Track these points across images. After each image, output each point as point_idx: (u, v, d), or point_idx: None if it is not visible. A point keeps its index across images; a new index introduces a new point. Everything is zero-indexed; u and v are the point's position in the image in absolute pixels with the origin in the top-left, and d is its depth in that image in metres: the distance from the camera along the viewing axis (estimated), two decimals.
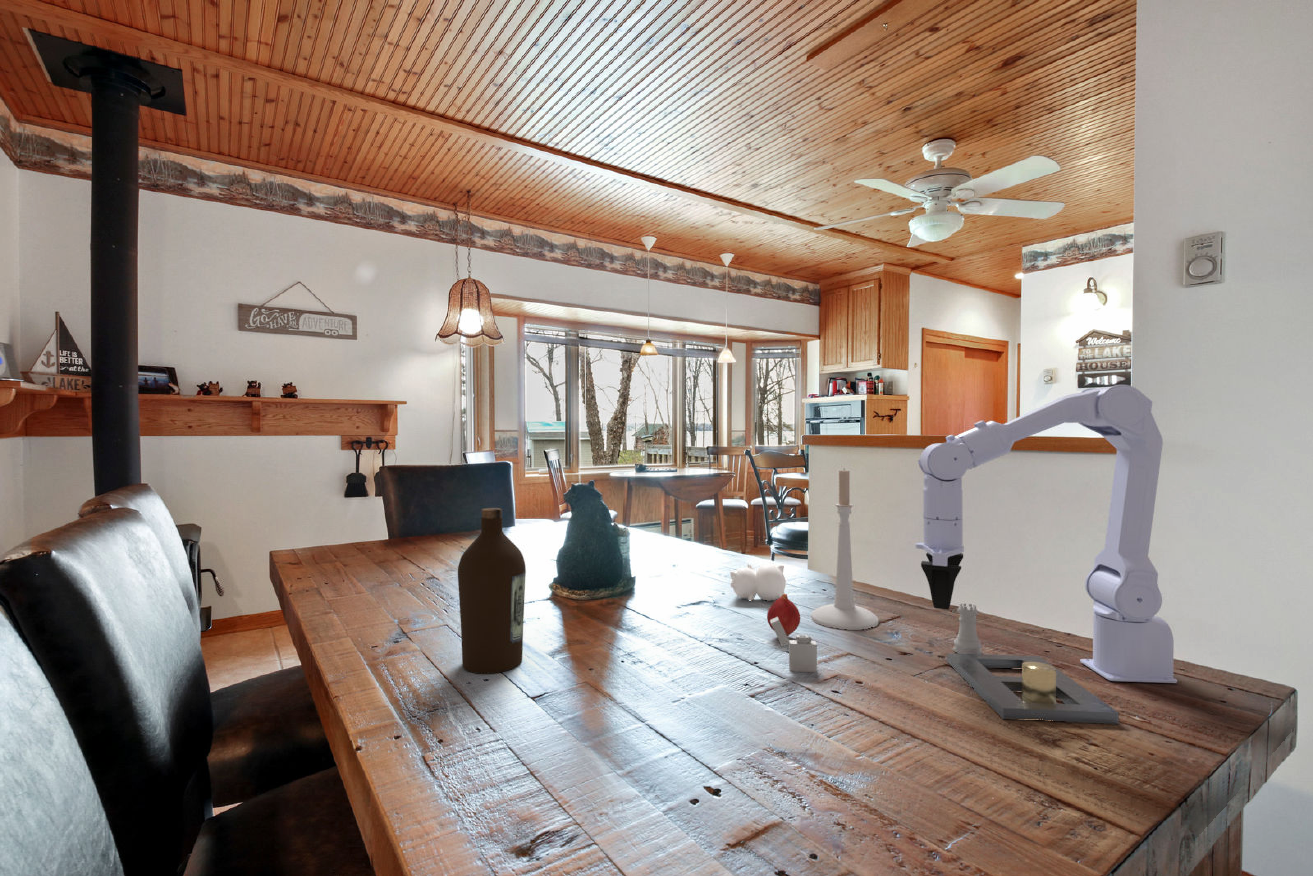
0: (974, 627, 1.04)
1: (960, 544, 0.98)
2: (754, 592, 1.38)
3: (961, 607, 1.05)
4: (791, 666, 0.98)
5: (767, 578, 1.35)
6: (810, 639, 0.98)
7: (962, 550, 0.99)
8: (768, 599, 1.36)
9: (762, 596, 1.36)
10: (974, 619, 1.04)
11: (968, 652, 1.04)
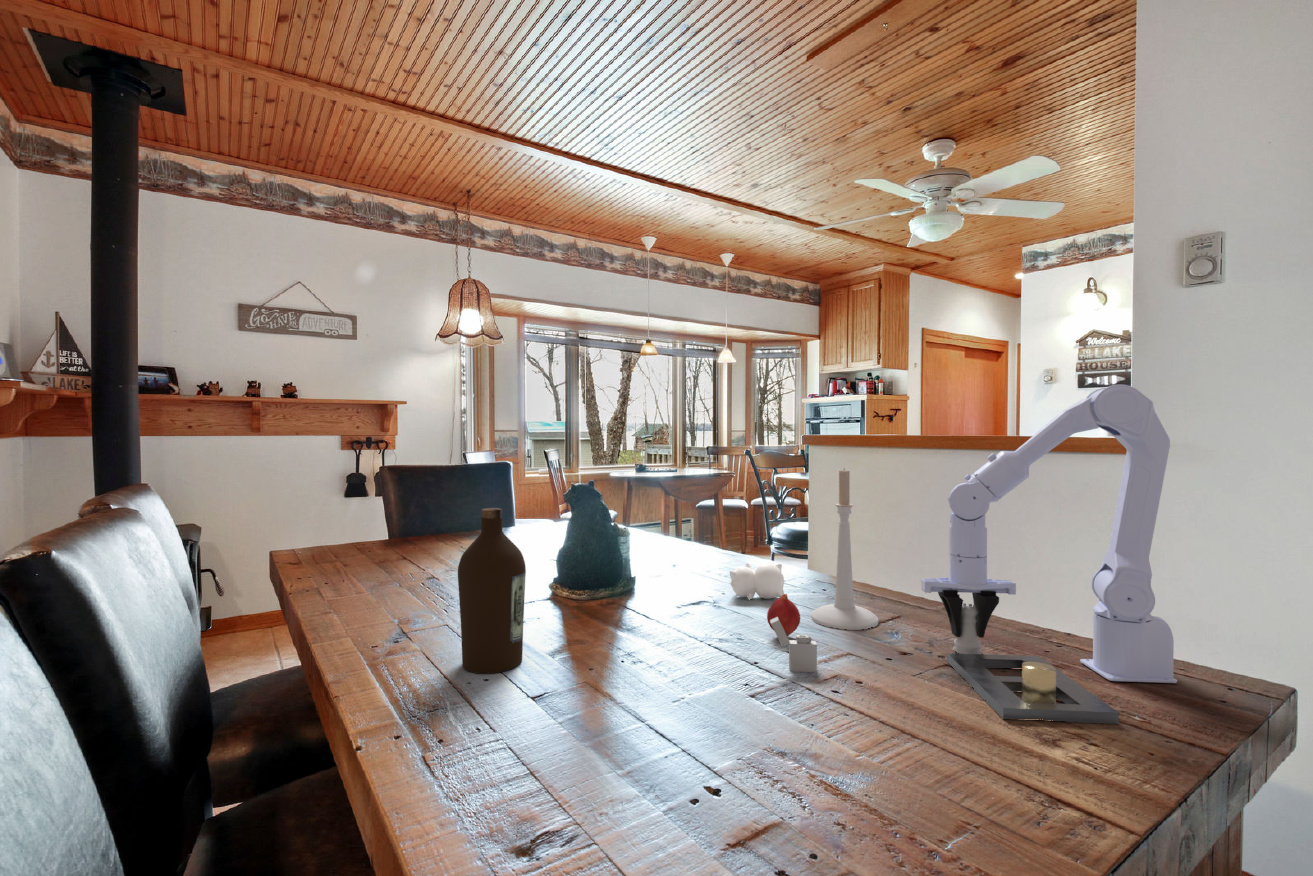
0: (974, 626, 1.04)
1: (966, 581, 1.03)
2: (753, 591, 1.39)
3: None
4: (791, 666, 0.98)
5: (767, 576, 1.37)
6: (810, 639, 0.98)
7: (968, 587, 1.03)
8: (767, 597, 1.38)
9: (762, 594, 1.38)
10: (974, 619, 1.04)
11: (968, 652, 1.04)
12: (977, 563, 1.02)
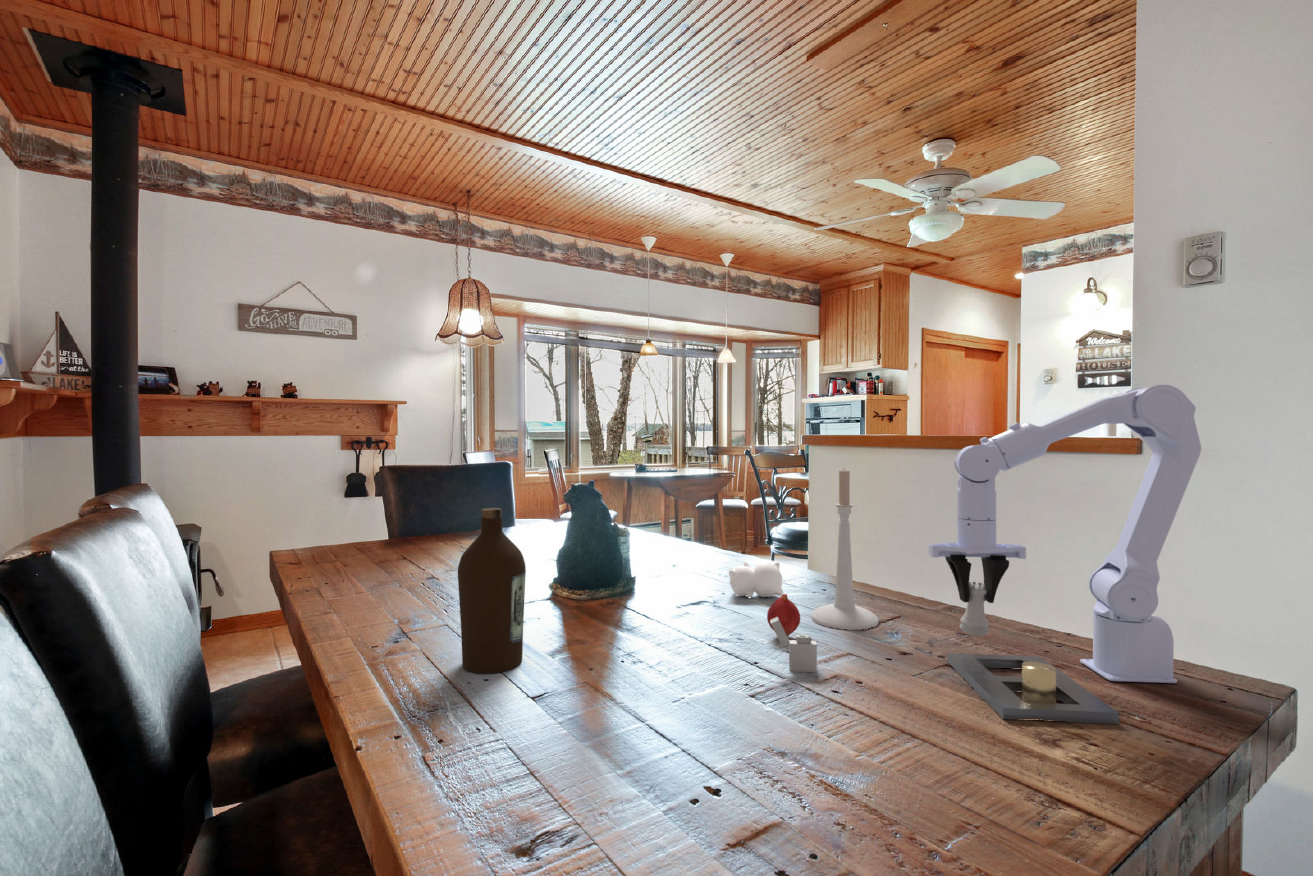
0: (982, 606, 1.02)
1: (975, 544, 1.00)
2: (753, 589, 1.40)
3: (969, 585, 1.03)
4: (791, 666, 0.98)
5: (766, 575, 1.38)
6: (810, 639, 0.98)
7: (977, 551, 1.00)
8: (766, 596, 1.39)
9: (761, 593, 1.39)
10: (982, 598, 1.02)
11: (974, 631, 1.02)
12: (986, 526, 1.00)
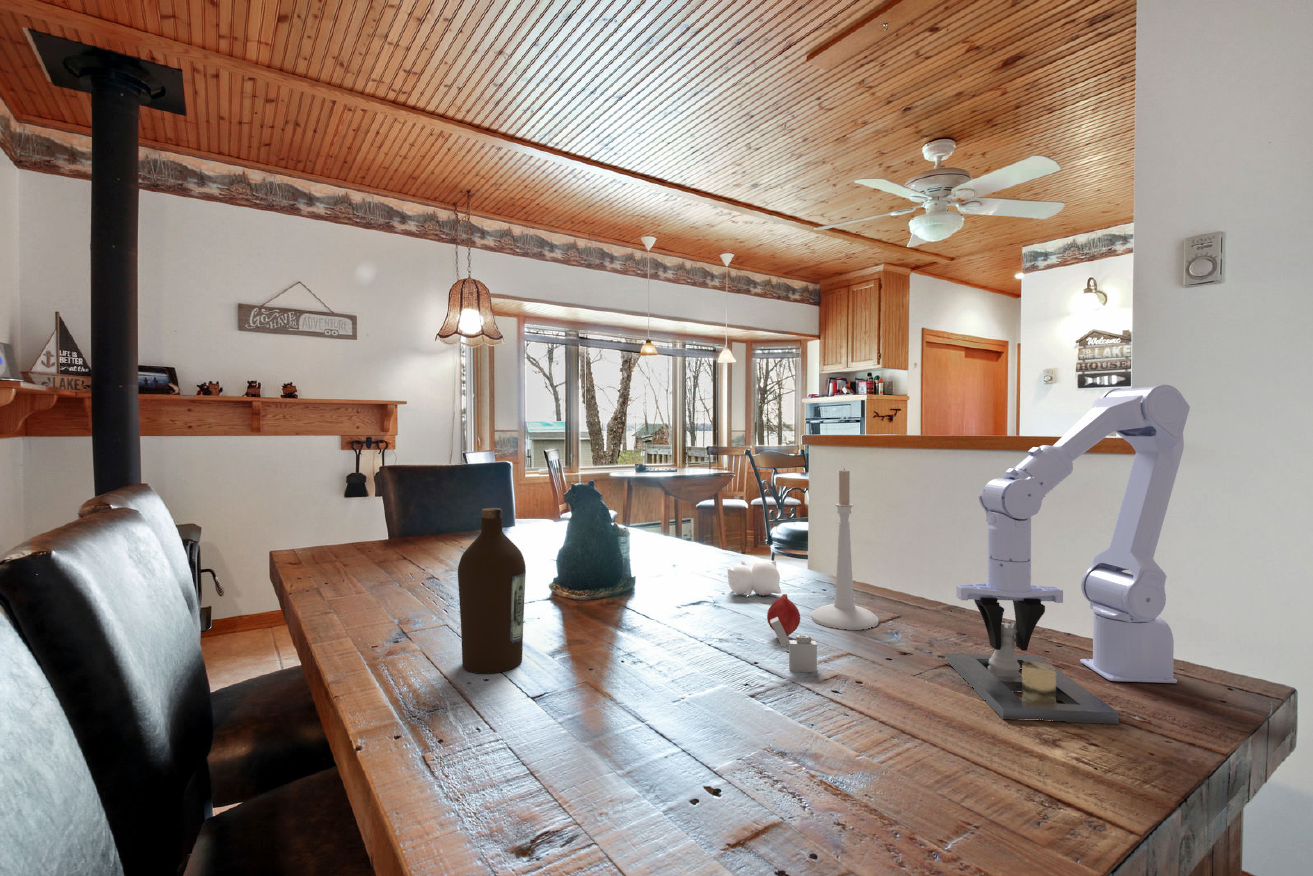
0: (1013, 646, 0.95)
1: (1008, 588, 0.92)
2: (751, 588, 1.41)
3: None
4: (791, 666, 0.98)
5: (765, 573, 1.40)
6: (810, 639, 0.98)
7: (1010, 595, 0.92)
8: (765, 594, 1.41)
9: (759, 591, 1.40)
10: (1012, 638, 0.95)
11: (1004, 674, 0.94)
12: (1020, 568, 0.92)
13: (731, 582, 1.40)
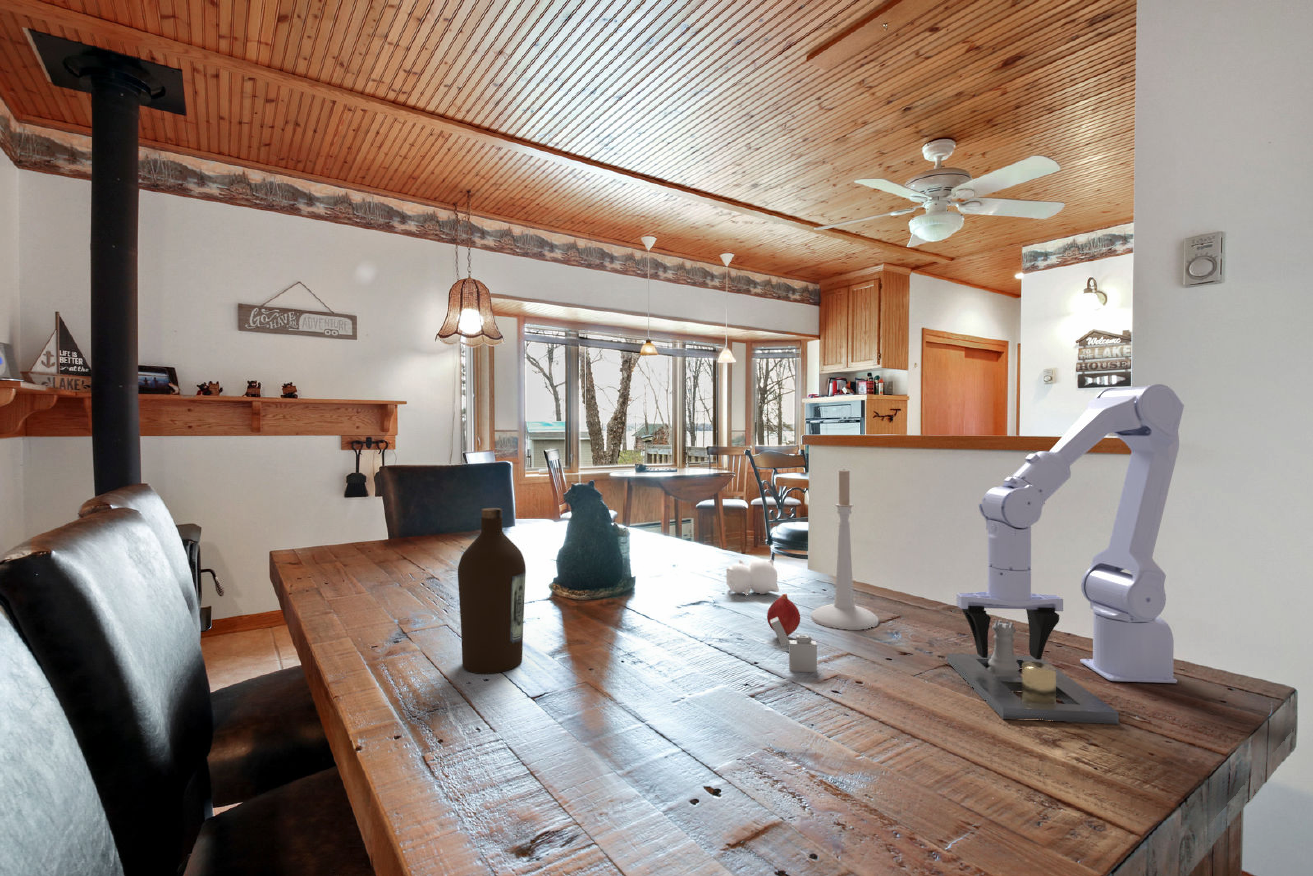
0: (1011, 646, 0.95)
1: (1008, 596, 0.92)
2: (749, 587, 1.42)
3: (996, 624, 0.96)
4: (791, 666, 0.98)
5: (764, 572, 1.41)
6: (810, 639, 0.98)
7: (1010, 603, 0.92)
8: (763, 592, 1.42)
9: (758, 590, 1.42)
10: (1011, 638, 0.95)
11: (1003, 674, 0.94)
12: (1021, 576, 0.92)
13: (730, 581, 1.41)
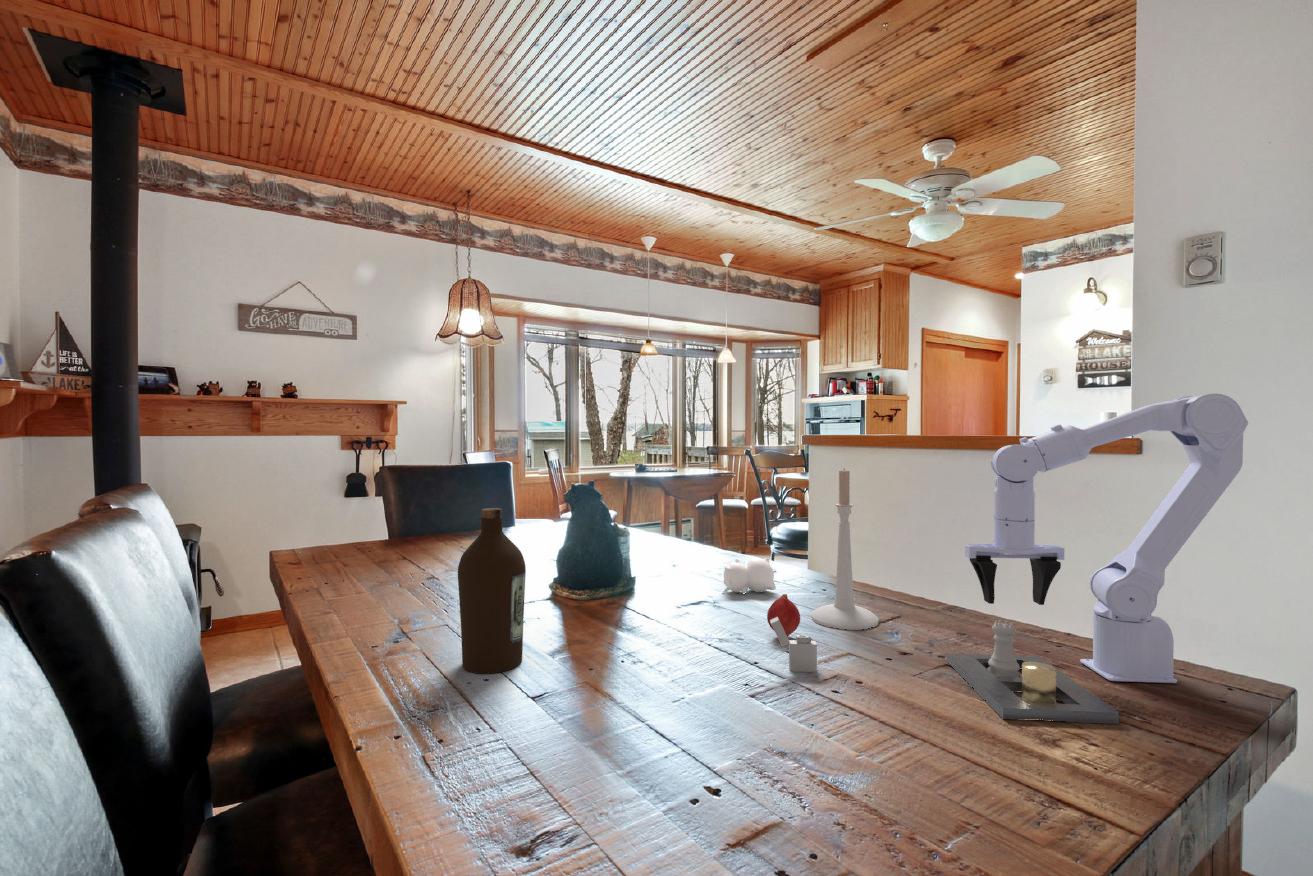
0: (1011, 646, 0.95)
1: (1013, 545, 0.99)
2: (747, 585, 1.44)
3: (996, 624, 0.96)
4: (791, 666, 0.98)
5: (761, 570, 1.42)
6: (810, 639, 0.98)
7: (1015, 552, 0.99)
8: (760, 590, 1.44)
9: (756, 588, 1.43)
10: (1011, 638, 0.95)
11: (1003, 674, 0.94)
12: (1025, 527, 0.99)
13: (729, 580, 1.42)
